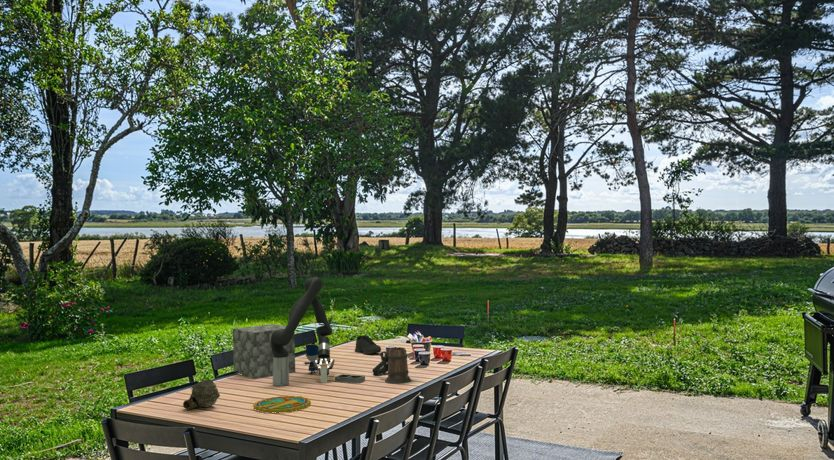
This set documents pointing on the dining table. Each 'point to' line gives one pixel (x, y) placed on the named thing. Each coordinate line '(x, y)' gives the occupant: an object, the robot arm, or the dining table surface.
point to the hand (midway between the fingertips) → (323, 374)
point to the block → (258, 351)
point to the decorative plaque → (282, 404)
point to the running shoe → (366, 345)
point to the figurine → (311, 356)
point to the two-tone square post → (323, 372)
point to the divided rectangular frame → (349, 378)
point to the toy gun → (380, 367)
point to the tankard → (395, 366)
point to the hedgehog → (202, 395)
